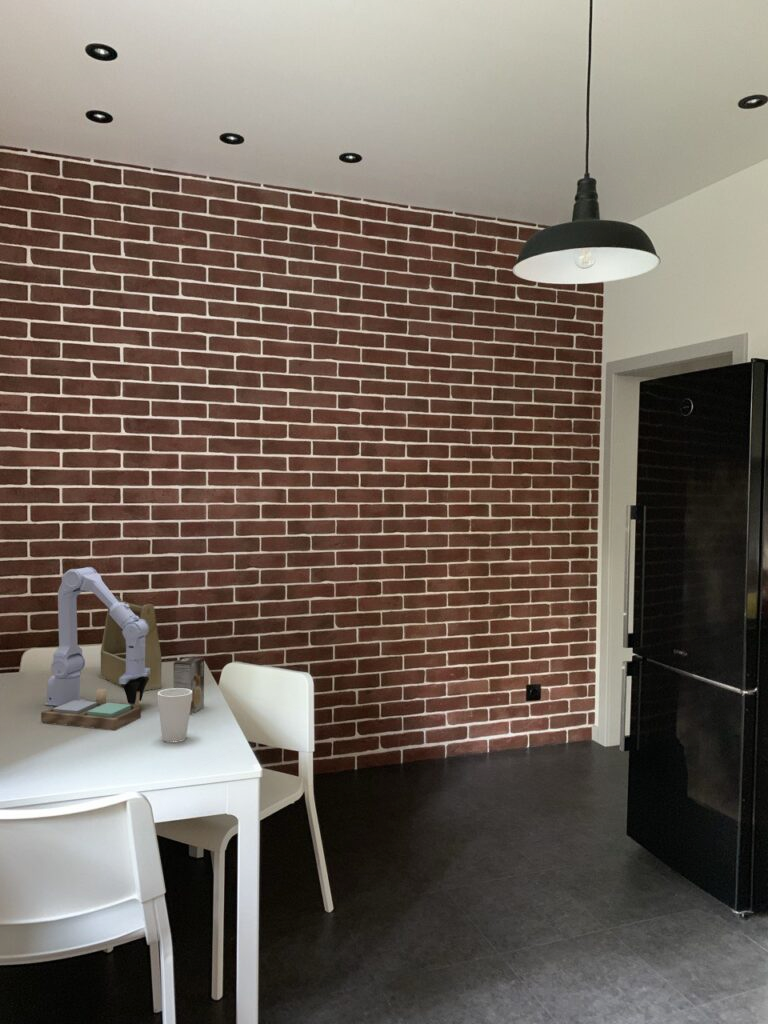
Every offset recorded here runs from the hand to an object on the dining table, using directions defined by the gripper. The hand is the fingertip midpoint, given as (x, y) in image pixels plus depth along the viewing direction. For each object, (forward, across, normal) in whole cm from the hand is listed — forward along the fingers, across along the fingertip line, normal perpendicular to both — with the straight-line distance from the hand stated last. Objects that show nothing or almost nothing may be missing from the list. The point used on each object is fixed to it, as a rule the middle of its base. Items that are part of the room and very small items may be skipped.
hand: (134, 701), depth 236 cm
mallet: (+2, -9, 0) cm, 9 cm away
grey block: (+3, -8, +12) cm, 15 cm away
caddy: (+3, +30, +21) cm, 37 cm away
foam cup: (+3, -22, -26) cm, 35 cm away
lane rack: (+2, -13, +6) cm, 14 cm away
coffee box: (+3, +4, -16) cm, 17 cm away
